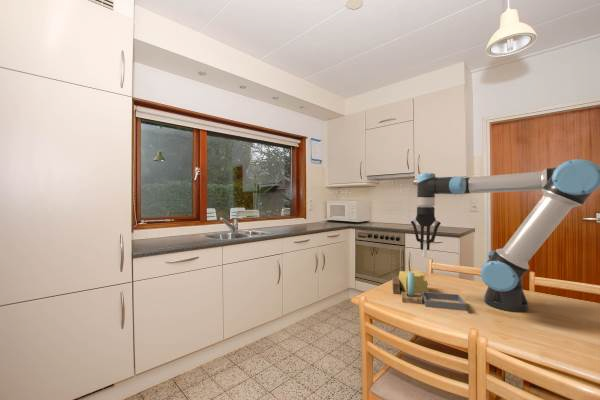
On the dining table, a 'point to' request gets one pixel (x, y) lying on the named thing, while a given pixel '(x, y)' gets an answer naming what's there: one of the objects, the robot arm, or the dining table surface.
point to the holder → (411, 298)
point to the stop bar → (396, 285)
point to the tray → (444, 305)
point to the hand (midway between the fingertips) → (424, 256)
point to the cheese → (419, 281)
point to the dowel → (411, 285)
